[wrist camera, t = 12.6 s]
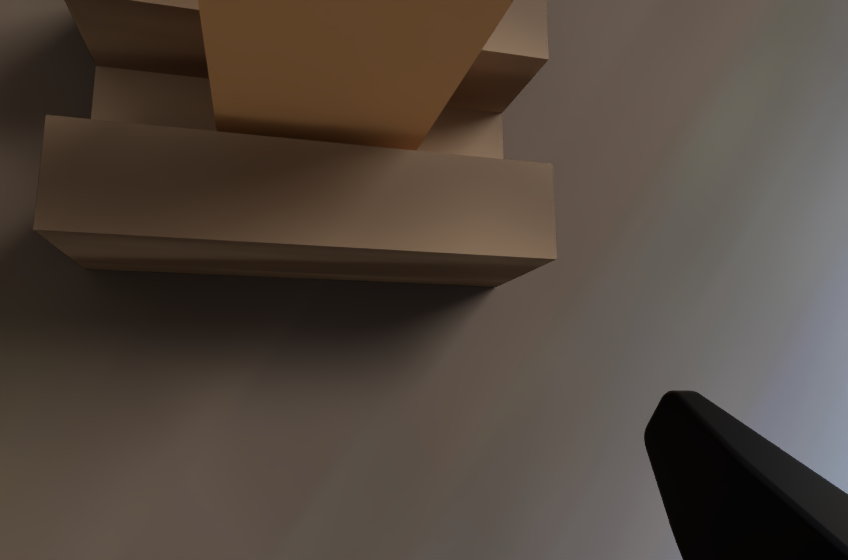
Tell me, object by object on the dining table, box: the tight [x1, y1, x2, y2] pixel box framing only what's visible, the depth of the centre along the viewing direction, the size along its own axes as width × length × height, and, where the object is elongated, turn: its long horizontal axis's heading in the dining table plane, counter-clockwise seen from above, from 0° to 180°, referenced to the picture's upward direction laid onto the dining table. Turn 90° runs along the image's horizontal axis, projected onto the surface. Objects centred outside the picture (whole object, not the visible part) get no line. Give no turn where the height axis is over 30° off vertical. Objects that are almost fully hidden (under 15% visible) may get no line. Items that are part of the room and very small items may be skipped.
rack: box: [33, 0, 557, 287], centre depth 21 cm, size 16×14×5 cm
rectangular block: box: [198, 0, 514, 151], centre depth 16 cm, size 2×6×12 cm, turn 91°
